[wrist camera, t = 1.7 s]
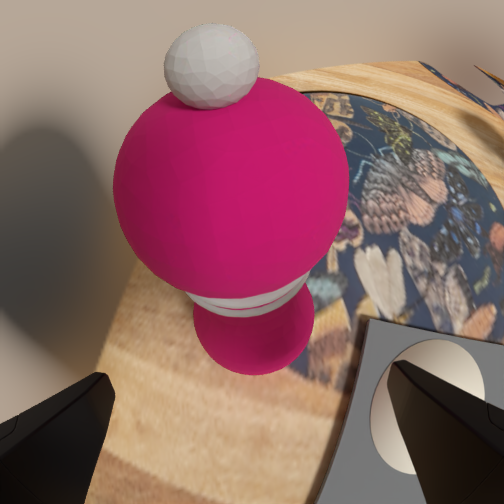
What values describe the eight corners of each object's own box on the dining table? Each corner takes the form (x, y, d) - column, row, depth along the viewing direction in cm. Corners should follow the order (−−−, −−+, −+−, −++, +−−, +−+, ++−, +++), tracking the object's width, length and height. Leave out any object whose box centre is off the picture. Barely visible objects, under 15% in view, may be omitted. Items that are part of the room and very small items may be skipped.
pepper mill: (201, 300, 23) (71, 41, 5) (289, 278, 23) (313, -8, 6) (220, 390, 19) (-56, 253, 2) (317, 364, 20) (518, 124, 2)
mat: (464, 528, 10) (469, 530, 9) (299, 535, 13) (300, 539, 12) (508, 349, 18) (513, 346, 17) (367, 321, 21) (370, 318, 20)
